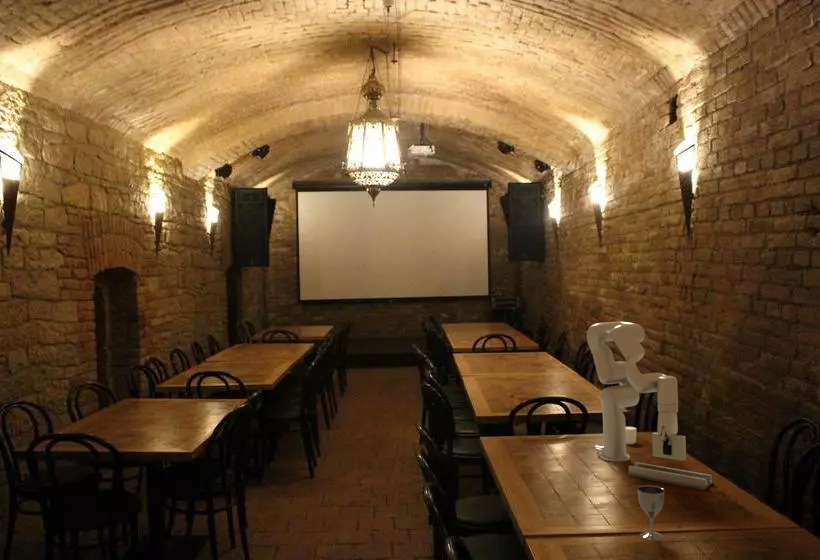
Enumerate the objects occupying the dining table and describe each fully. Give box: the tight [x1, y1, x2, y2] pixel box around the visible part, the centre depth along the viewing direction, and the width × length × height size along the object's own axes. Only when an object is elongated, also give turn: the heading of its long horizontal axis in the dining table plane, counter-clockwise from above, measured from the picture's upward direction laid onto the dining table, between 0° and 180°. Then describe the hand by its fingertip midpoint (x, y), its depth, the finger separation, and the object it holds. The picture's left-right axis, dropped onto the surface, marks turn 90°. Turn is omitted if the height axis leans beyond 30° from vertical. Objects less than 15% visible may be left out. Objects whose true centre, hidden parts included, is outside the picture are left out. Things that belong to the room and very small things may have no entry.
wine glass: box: [637, 484, 665, 542], centre depth 217 cm, size 8×8×15 cm
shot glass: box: [626, 426, 637, 445], centre depth 325 cm, size 7×7×7 cm
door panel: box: [651, 431, 687, 462], centre depth 270 cm, size 12×3×9 cm, turn 50°
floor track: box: [626, 461, 714, 491], centre depth 271 cm, size 30×10×4 cm, turn 50°
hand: (669, 453), depth 270 cm, fingers closed on door panel, 3 cm apart
